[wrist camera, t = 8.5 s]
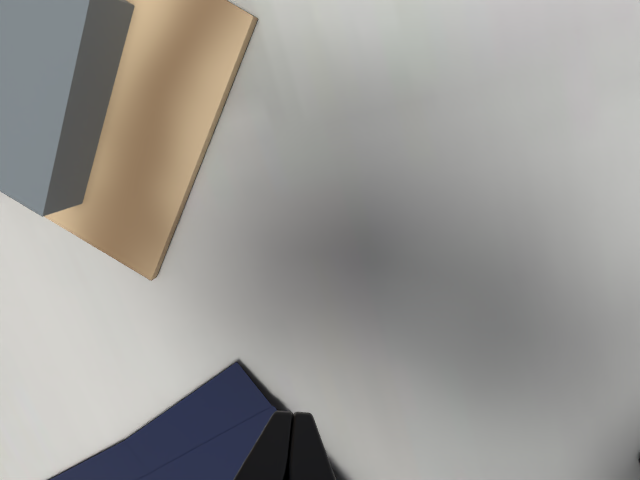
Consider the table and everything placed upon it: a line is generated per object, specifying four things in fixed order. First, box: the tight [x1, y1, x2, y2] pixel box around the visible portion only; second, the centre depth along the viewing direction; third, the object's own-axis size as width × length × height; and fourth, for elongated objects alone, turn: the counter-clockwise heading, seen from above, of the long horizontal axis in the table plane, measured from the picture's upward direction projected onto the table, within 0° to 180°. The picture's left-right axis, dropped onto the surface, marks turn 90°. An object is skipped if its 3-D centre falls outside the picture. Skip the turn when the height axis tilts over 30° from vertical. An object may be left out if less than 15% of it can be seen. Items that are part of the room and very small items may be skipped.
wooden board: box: [44, 0, 258, 281], centre depth 19 cm, size 18×14×1 cm
